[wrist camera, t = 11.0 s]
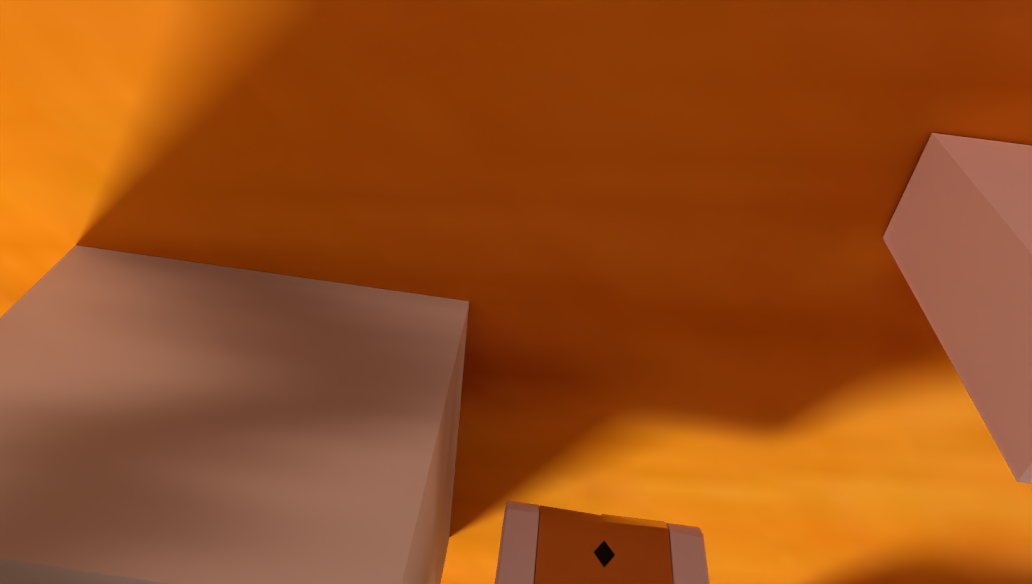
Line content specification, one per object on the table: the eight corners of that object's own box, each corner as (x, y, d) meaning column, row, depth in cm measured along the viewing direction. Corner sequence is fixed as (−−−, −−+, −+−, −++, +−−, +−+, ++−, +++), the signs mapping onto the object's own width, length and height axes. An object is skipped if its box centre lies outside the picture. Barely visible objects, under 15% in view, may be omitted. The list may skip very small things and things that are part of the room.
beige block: (469, 301, 11) (393, 616, 7) (449, 537, 15) (391, 833, 11) (75, 244, 11) (-217, 526, 7) (152, 493, 15) (-14, 771, 11)
